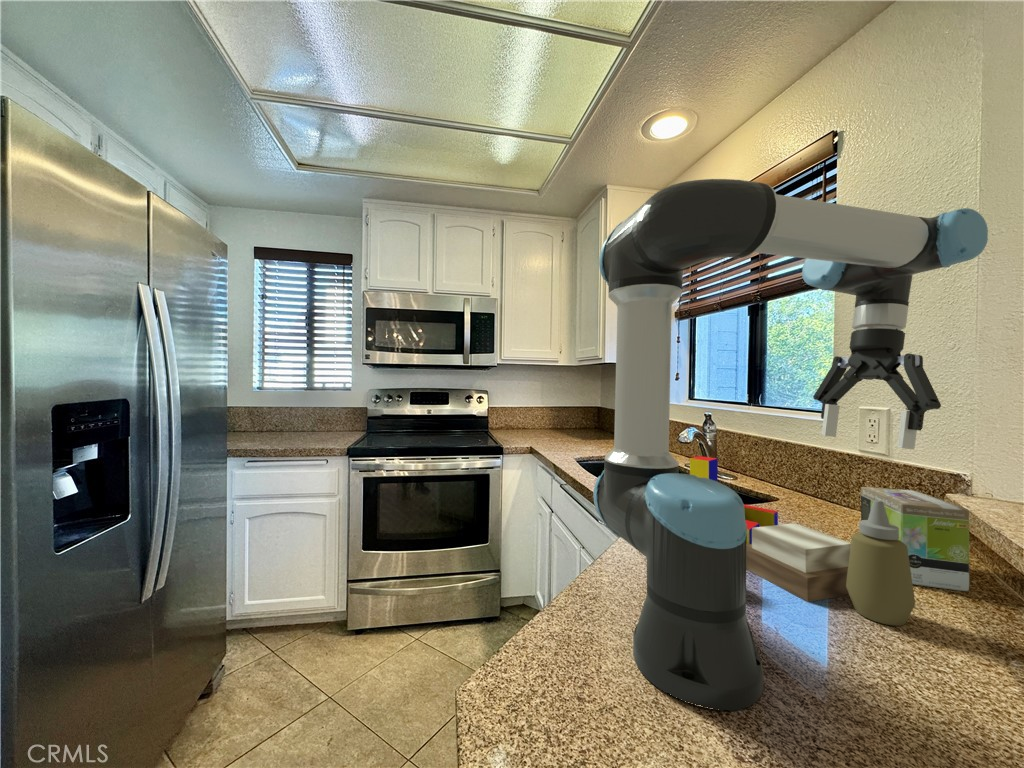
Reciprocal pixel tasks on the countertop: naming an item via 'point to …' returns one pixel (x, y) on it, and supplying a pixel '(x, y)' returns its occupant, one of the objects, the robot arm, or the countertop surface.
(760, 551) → the box on wooden base
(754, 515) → the building blocks toy
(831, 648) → the countertop surface
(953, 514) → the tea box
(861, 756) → the countertop surface
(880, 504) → the squeeze bottle
